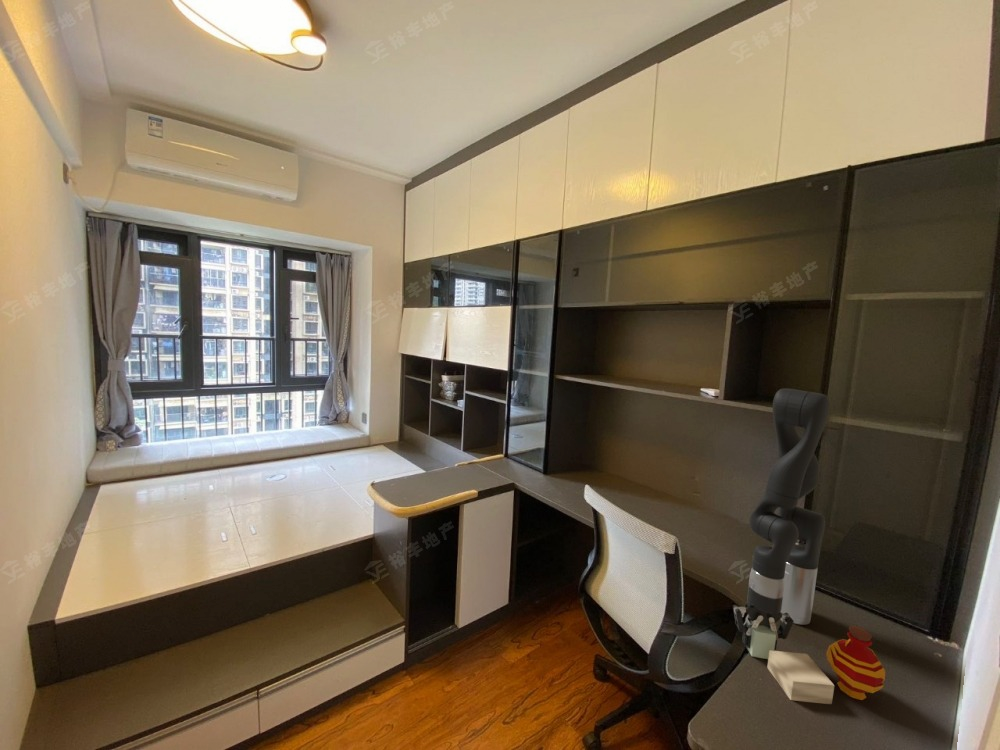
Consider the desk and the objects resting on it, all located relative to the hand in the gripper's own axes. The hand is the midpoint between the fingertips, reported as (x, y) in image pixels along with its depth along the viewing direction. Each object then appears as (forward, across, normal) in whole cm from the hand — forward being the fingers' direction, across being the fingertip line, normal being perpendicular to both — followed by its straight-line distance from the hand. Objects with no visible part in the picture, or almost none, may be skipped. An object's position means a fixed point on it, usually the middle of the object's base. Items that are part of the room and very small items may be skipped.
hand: (758, 647), depth 105 cm
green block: (+1, 0, 0) cm, 1 cm away
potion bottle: (+1, -17, +8) cm, 19 cm away
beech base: (+1, -5, +9) cm, 11 cm away
